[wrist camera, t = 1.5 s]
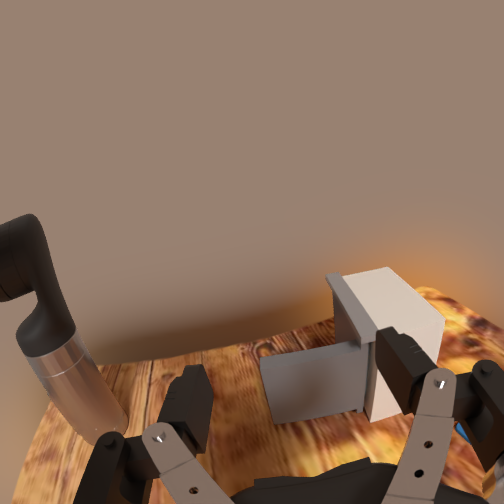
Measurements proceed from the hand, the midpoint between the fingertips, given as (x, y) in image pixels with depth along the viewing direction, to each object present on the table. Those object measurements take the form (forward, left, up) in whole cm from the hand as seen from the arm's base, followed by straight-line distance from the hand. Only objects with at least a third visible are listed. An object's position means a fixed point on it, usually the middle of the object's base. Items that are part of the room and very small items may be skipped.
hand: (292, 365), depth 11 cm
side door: (+2, +19, -21) cm, 28 cm away
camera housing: (+12, +19, -22) cm, 32 cm away
